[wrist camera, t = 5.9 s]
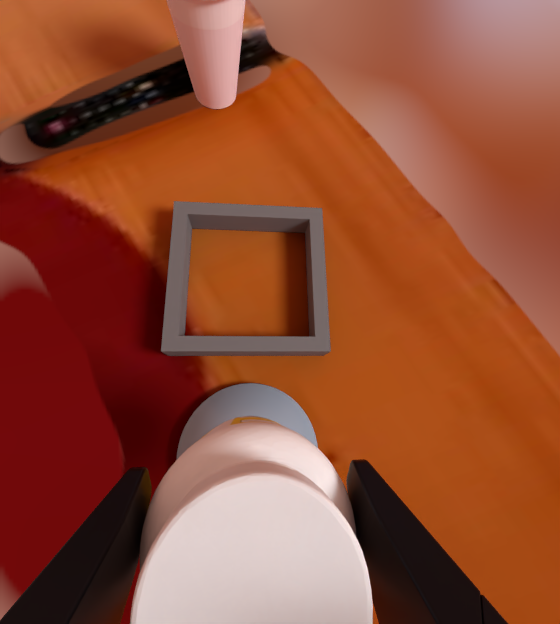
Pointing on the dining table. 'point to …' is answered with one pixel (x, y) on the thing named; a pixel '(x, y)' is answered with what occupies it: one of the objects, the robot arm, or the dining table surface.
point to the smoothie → (210, 46)
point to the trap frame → (248, 220)
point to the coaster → (245, 412)
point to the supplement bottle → (251, 535)
